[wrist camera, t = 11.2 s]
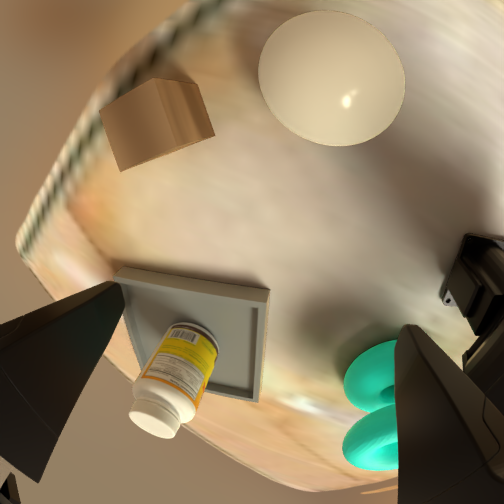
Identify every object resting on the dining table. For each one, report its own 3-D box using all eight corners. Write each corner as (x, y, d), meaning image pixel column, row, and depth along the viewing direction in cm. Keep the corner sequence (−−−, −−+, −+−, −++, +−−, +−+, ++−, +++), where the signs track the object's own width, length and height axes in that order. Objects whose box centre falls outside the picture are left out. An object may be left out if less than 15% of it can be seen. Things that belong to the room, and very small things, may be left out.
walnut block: (197, 84, 17) (153, 77, 12) (215, 135, 19) (177, 146, 14) (150, 106, 19) (99, 110, 13) (167, 154, 20) (120, 172, 15)
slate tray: (270, 289, 24) (266, 303, 22) (261, 390, 30) (258, 402, 28) (123, 266, 26) (112, 275, 24) (148, 363, 32) (142, 374, 31)
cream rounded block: (382, 30, 13) (395, 15, 10) (391, 141, 17) (407, 148, 14) (261, 30, 15) (251, 15, 12) (273, 142, 18) (265, 148, 15)
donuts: (410, 474, 19) (321, 470, 19) (402, 400, 27) (327, 387, 28) (481, 425, 14) (385, 421, 14) (454, 343, 22) (372, 321, 23)
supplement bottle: (193, 364, 29) (155, 443, 20) (157, 328, 28) (107, 406, 19) (232, 352, 27) (199, 443, 18) (195, 311, 25) (144, 402, 16)
